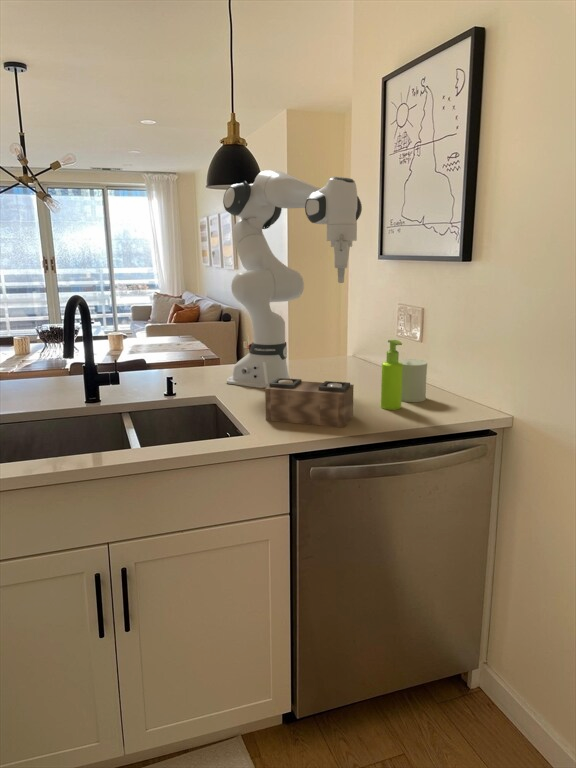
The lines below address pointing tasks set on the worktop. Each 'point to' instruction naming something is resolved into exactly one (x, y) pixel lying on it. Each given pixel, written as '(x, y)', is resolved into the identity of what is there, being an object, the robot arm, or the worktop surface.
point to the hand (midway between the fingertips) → (341, 282)
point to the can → (413, 380)
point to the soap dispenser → (391, 379)
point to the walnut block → (309, 402)
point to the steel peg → (334, 385)
